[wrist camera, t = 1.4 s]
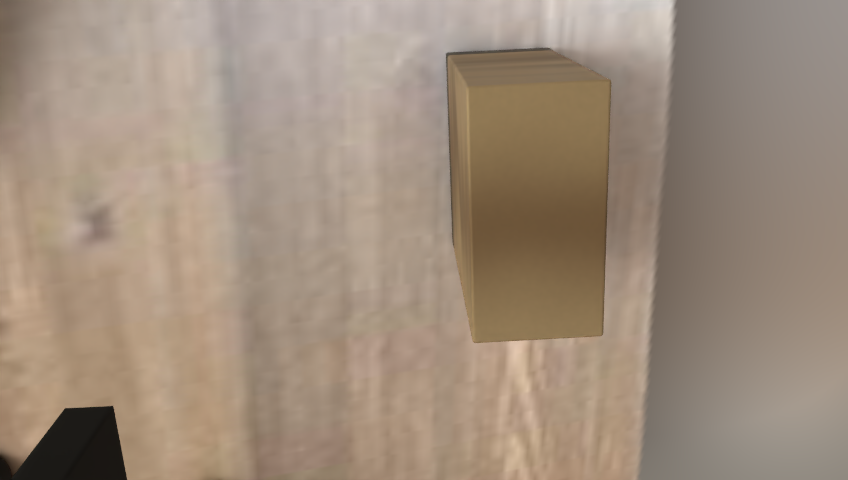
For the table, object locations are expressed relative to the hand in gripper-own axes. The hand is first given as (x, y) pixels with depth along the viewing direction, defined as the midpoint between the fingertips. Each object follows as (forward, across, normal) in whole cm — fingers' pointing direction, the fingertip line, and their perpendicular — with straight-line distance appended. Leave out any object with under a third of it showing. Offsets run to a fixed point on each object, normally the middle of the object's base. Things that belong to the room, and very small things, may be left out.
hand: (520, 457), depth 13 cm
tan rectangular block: (+17, +2, +2) cm, 17 cm away
